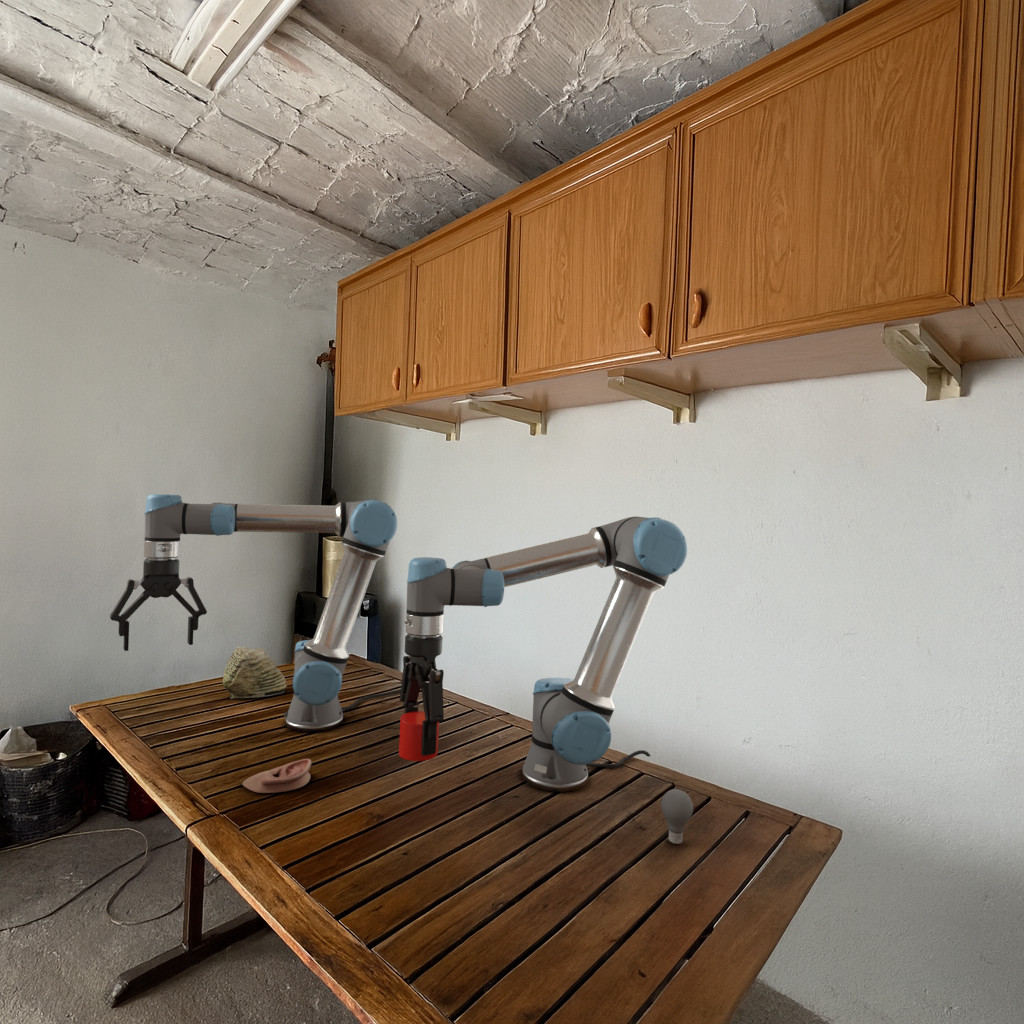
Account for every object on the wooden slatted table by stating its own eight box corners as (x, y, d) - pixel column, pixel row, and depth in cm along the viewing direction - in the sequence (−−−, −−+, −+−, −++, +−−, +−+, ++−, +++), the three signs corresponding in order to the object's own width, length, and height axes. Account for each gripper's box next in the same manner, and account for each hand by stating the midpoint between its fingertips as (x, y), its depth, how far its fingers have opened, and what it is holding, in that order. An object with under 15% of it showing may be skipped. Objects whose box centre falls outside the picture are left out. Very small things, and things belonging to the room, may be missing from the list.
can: (391, 757, 126) (393, 720, 125) (409, 743, 133) (411, 709, 133) (427, 763, 123) (429, 726, 123) (443, 749, 131) (445, 714, 131)
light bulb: (655, 834, 124) (657, 783, 124) (684, 834, 125) (687, 783, 124) (665, 851, 118) (667, 798, 118) (696, 851, 119) (698, 798, 118)
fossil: (218, 695, 195) (220, 647, 195) (278, 685, 208) (279, 640, 207) (228, 703, 189) (230, 653, 188) (289, 692, 201) (290, 645, 201)
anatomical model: (234, 771, 135) (265, 750, 146) (233, 789, 135) (265, 767, 146) (290, 779, 132) (318, 757, 143) (290, 798, 132) (317, 775, 143)
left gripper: (101, 561, 141) (98, 655, 142) (221, 558, 156) (218, 644, 157) (98, 557, 147) (95, 648, 148) (214, 556, 162) (211, 638, 163)
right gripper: (386, 625, 134) (381, 732, 135) (430, 647, 117) (424, 769, 117) (418, 623, 138) (414, 726, 139) (465, 643, 121) (460, 761, 122)
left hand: (158, 646), depth 152 cm, fingers open, 13 cm apart
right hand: (419, 746), depth 128 cm, fingers closed on can, 8 cm apart
